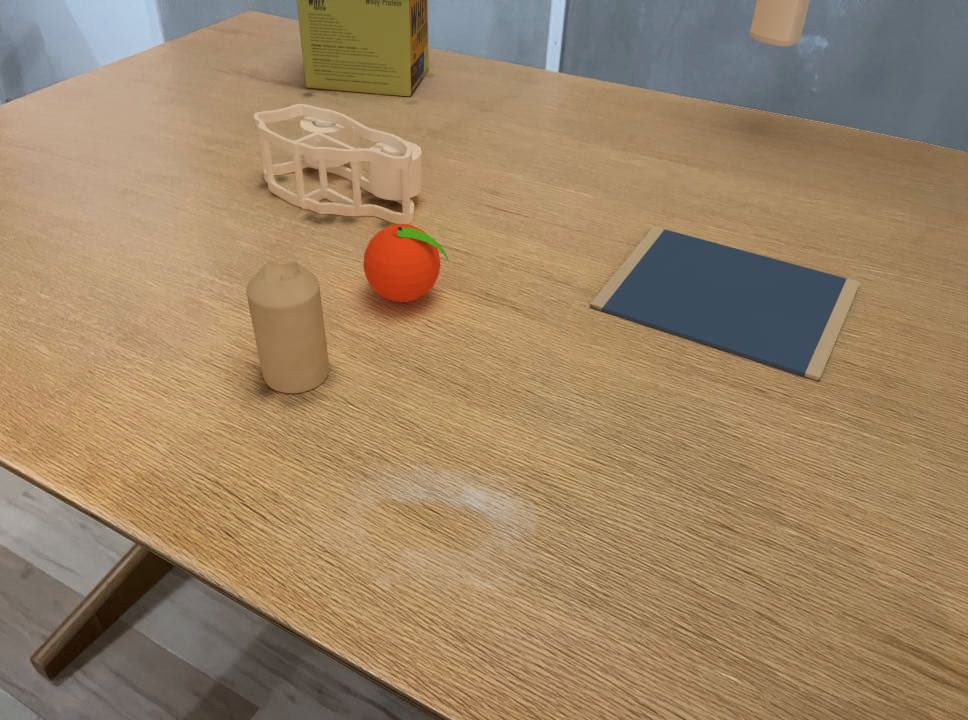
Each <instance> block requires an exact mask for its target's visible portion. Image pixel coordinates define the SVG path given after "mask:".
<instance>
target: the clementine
mask: <svg viewBox="0 0 968 720" xmlns="http://www.w3.org/2000/svg"><path fill="white" fill-rule="evenodd" d="M439 251H440V252H441V253H442V254H443V255H444V257H445V260H447V263H450V260H449V258H448V256H447V253H446V250H444V248H443V247H442V245H441V244H440V243H439V242H438V241H437V240H436V239H435V238H433V237H432V236H430V235H429V234H428V233H427V232H425V231H424V230H423V229H421V228H419V227H417V226H414V225H413V224H392V225H389V226H386V227H385V228H382V229H381V230H379V231H377V233H375V234H374V235H373V237H372V238H371V239H370V240H369V241H368V244H367V246H366V248H365V252H364V254H363V271H364V274H365V278H366V280H367V282H368V284H369V285H370V287H371V289H373V291H375V292H376V293H377V294H378V295H379V296H381V297H382V298H383V299H386V300H388V301H389V300H390V301H392V302H396V303H408V302H412V301H416V300H418V299H420V298H422V297H424V296H425V295H426V294H427V293H429V291H430V290H431V289H432V288H433V287H434V286H435V284H436V281H438V277H439V274H440V270H441V258H440V252H439Z"/></svg>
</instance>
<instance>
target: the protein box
mask: <svg viewBox="0 0 968 720" xmlns="http://www.w3.org/2000/svg"><path fill="white" fill-rule="evenodd" d="M428 2H429V1H428V0H296V8H297V17H298V24H299V35H300V46H301V55H302V64H303V74H304V85H305V88H308V89H319V90H329V91H331V90H332V91H341V92H352V93H354V92H355V93H364V94H365V93H367V94H375V95H388V96H399V97H400V96H402V97H412V96H413V94H414V92H415V90H416V89H417V88H418V86H420V83H421V82H422V80H423V79H424V77H425V76H426V74H427V72H428V71H429V70H430V58H429V57H430V56H429V11H428V10H429V7H428V6H429V5H428V4H429V3H428Z"/></svg>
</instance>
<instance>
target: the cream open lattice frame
mask: <svg viewBox="0 0 968 720" xmlns="http://www.w3.org/2000/svg"><path fill="white" fill-rule="evenodd" d="M300 116H304V117H303V118H302V119H301V120H300V122H299V128H300V129H299V130H300V136H301V137H300V138H298V139H295V140H292V139H290V138H287V137H284V136H282V135H280V134H278V133H277V132H275V131H272V130H271V129H269V128H268V127H267V125H266V124H270V123H277V122H283V121H287V120H291V119H294V118H296V117H300ZM253 119H254V126H255V129H256V133H257V139H258V146H259V152H260V158H261V159H260V160H261V165H262V172H263V179H264V182H265V183H267V189H268V191H269V192H270V193H272V194H274V195H275V196H277V197H279V198H280V199H282V200H284V201H286V202H287V203H289V204H291V205H293V206H296V207H299V208H301V209H302V210H308V211H309V210H310V211H312V212H314V213H316V214H319V215H335V216H336V215H337V216H343V217H356V218H357V217H375V218H379V219H381V220H383V221H386V222H388V223H391V224H393V225H395V224H408V225H411V223H413V221H414V218H415V203H414V201H413V200H412V199H411V198H413V197H416V196H417V195H419V194H420V193H421V191H422V190H423V165H422V164H423V163H422V156H423V155H422V149H421V147H420V145H418V144H416V143H415V142H411V141H408V140H405V139H403V138H401V137H400V136H397V135H395V134H393V133H390V132H387V131H384V130H380V129H379V130H378V129H375V128H374V129H373V128H371V127H368V126H366V125H365V124H363V123H361V122H359V121H357V119H354V118H352V117H350V116H348V115H346V114H344V113H341V112H339V111H336V110H333V109H328V108H323V107H318V106H314V105H310V104H306V103H296V104H295V103H294V104H292V105H290V106H287V107H282V108H277V109H273V110H263V111H257V112H255V113H254V115H253ZM361 138H362V139H365V140H368V141H369V142H373V143H375V144H373V145H371V146H370V147H369V148H368V147H367V148H365V147H361ZM270 144H271V145H273V146H275V147H277V148H279V149H281V150H283V151H286V152H288V153H291V155H292V156H291V157H292V160H290V161H287V162H281V163H274V164H273V159H272V151H271V145H270ZM301 156H302V157H301ZM363 162H367V164H368V165H367V166H368V177H369V178H368V179H367V177H365V176H364V175H363V164H362V163H363ZM348 163H350V168H349V167H348V166H345V165H346V164H348ZM307 168H310V169H314V170H318V176H319V186H320V187H318V188H316V189H313V190H312V191H309V192H308V193H306V190H305V189H306V188H305V182H304V181H305V180H304V173H303V170H304V169H307ZM291 173H294V178H295V186H296V193H295V192H293V191H291V190H289V189H288V188H286V187H284V186H282V185H280V184H278V183H277V181H276V179H275V176H281V175H282V176H283V175H287V174H291ZM328 173H331V174H334V175H337V176H340V177H342V178H344V179H347V180H349V181H351V185H352V197H353V199H352V198H349V197H347V196H345V195H343V194H341V193H340V192H337V191H335V190H333V189H331V188H329V183H328ZM361 188H362V189H361ZM361 190H364V191H366V192H368V193H370V194H372V195H373V196H375V197H377V198H378V199H383V200H387V201H388V200H389V201H394V202H397V204H400V205H401V206H402V212H399V211H394V210H391V209H389V208H386V207H384V206H381V205H377V204H374V203H373V204H372V203H364V204H362V203H363V202H362V191H361ZM324 199H325V200H327V202H322V201H323V200H324ZM328 201H329V202H328Z"/></svg>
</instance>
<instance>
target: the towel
mask: <svg viewBox="0 0 968 720" xmlns="http://www.w3.org/2000/svg"><path fill="white" fill-rule="evenodd" d="M860 285H861V281H859V280H855V279H851V278H847V277H843V276H839V275H835V274H832V273H828V272H824V271H820V270H817V269H813V268H810V267H806V266H803V265H799V264H794V263H792V262H788V261H783V260H780V259H776V258H773V257H769V256H766V255H761V254H758V253H754V252H751V251H747V250H743V249H739V248H736V247H732V246H728V245H725V244H721V243H717V242H714V241H710V240H706V239H703V238H699V237H695V236H692V235H688V234H684V233H680V232H677V231H672V230H669V229H665V228H663V227H660V226H656V225H653V226H652V227H651V229H650V230H648V232H647V233H646V235H645V236H644V237H643V238H642V239H641V241H640V242H639V243H638V245H637V246H636V247H635V248H634V249H633V251H632V252H631V253H630V254H629V255H628V256H627V258H626V259H625V260H624V261H623V263H622V264H621V265H620V266H619V268H618V269H617V270H616V271H615V272H614V274H613V275H612V276H611V277H610V278H609V280H608V281H607V282H606V283H605V285H604V286H603V287H602V288H601V290H600V291H599V292H598V293H597V295H596V296H595V297H594V298H593V299H592V301H591V302H590V303H589V308H591V309H595V310H597V311H600V312H603V313H606V314H610V315H613V316H616V317H619V318H622V319H625V320H628V321H631V322H635V323H637V324H641V325H643V326H646V327H650V328H653V329H656V330H659V331H662V332H666V333H669V334H672V335H674V336H678V337H681V338H683V339H686V340H690V341H693V342H696V343H699V344H702V345H705V346H709V347H711V348H714V349H718V350H721V351H724V352H727V353H730V354H733V355H737V356H740V357H743V358H746V359H749V360H753V361H755V362H758V363H760V364H761V363H762V364H765V365H767V366H771V367H774V368H777V369H780V370H782V371H786V372H789V373H792V374H796V375H799V376H801V377H805V378H807V379H809V380H810V379H811V380H814V381H817V382H820V380H821V378H822V375H823V373H824V371H825V368H826V366H827V363H828V361H829V359H830V356H831V354H832V351H833V349H834V347H835V344H836V342H837V340H838V337H839V335H840V332H841V330H842V328H843V325H844V322H845V320H846V318H847V316H848V314H849V311H850V308H851V306H852V303H853V301H854V299H855V297H856V294H857V292H858V290H859V287H860Z"/></svg>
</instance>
